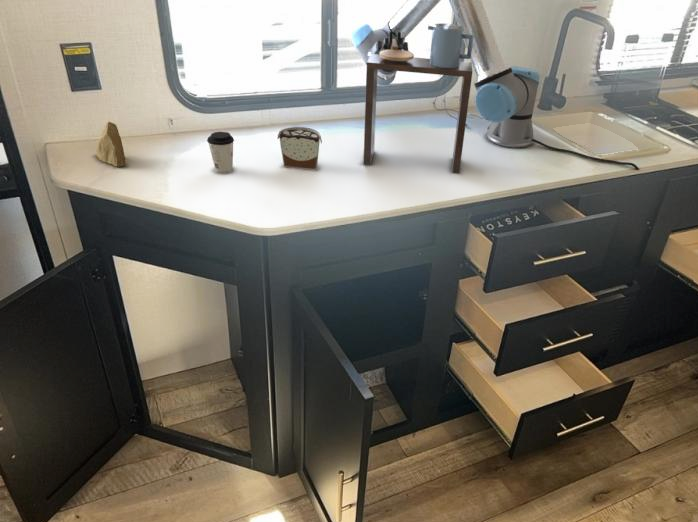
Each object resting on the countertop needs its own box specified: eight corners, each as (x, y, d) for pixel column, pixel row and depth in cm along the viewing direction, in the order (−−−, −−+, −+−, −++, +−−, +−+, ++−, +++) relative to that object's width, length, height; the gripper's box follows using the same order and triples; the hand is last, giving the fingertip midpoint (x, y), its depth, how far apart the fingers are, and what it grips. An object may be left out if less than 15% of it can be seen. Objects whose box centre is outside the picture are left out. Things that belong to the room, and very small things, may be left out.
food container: (326, 162, 174) (325, 128, 169) (321, 170, 169) (321, 136, 164) (284, 158, 175) (282, 124, 169) (278, 166, 170) (276, 131, 164)
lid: (407, 45, 174) (408, 39, 173) (415, 61, 159) (415, 55, 158) (376, 43, 173) (376, 38, 172) (380, 60, 158) (381, 53, 157)
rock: (134, 159, 162) (135, 141, 169) (108, 136, 156) (110, 118, 163) (105, 182, 164) (107, 163, 171) (78, 160, 158) (81, 142, 165)
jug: (469, 63, 166) (474, 25, 160) (469, 70, 159) (474, 31, 154) (425, 59, 166) (429, 21, 160) (424, 66, 159) (427, 27, 154)
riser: (459, 160, 183) (471, 62, 166) (459, 173, 174) (472, 71, 158) (367, 151, 183) (371, 53, 167) (363, 164, 175) (366, 62, 159)
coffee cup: (214, 176, 161) (209, 140, 156) (208, 167, 166) (203, 131, 161) (239, 173, 164) (236, 137, 159) (233, 163, 169) (229, 129, 164)
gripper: (410, 76, 190) (421, 52, 166) (363, 74, 188) (368, 50, 165) (410, 51, 189) (421, 24, 166) (363, 49, 187) (368, 21, 164)
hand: (395, 37), depth 165 cm, fingers closed on lid, 2 cm apart
